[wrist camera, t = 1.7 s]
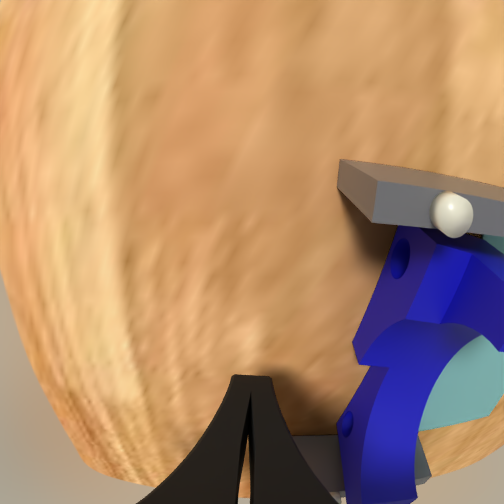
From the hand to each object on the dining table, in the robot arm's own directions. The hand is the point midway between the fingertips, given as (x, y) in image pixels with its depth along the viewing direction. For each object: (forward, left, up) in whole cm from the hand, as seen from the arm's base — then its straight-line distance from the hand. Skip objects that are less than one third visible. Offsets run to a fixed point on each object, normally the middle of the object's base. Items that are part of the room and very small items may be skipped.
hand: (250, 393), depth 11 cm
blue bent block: (-7, 0, -3) cm, 7 cm away
